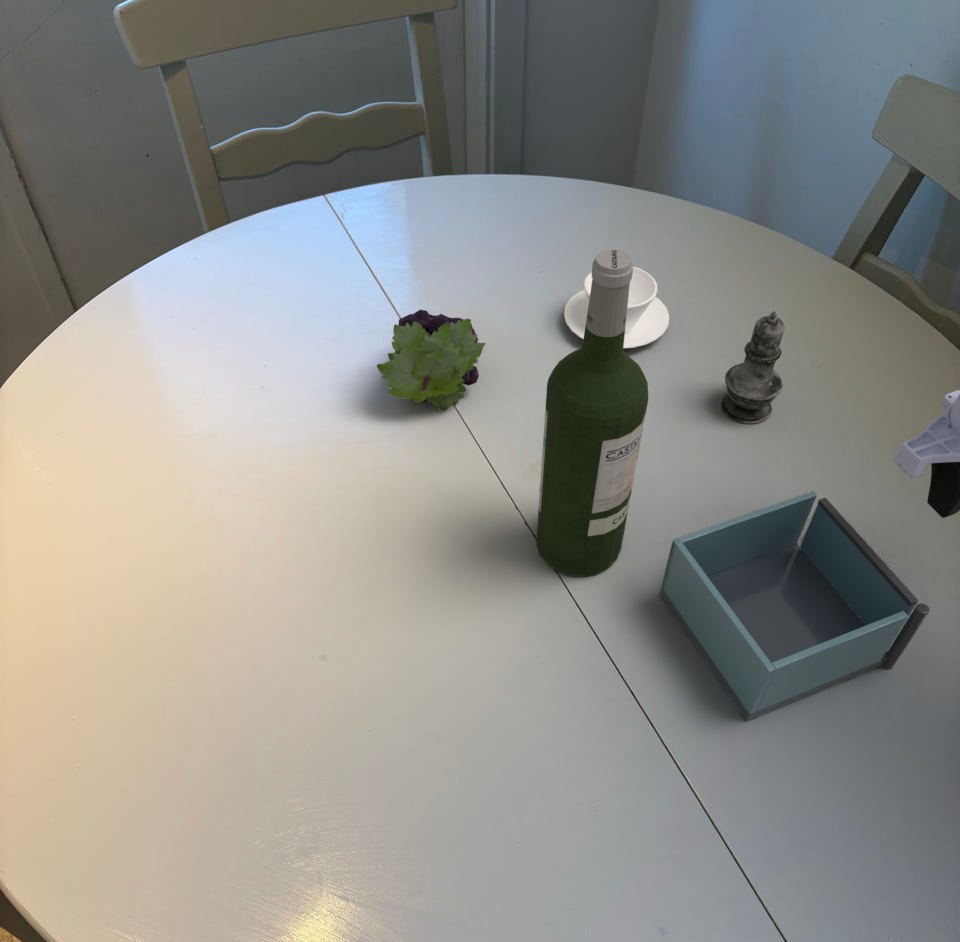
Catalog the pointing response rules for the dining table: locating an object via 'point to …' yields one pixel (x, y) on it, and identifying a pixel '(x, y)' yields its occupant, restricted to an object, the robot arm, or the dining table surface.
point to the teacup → (642, 311)
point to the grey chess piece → (755, 375)
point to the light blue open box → (772, 611)
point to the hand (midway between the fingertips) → (941, 507)
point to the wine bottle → (592, 433)
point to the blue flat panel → (854, 567)
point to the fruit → (432, 359)
